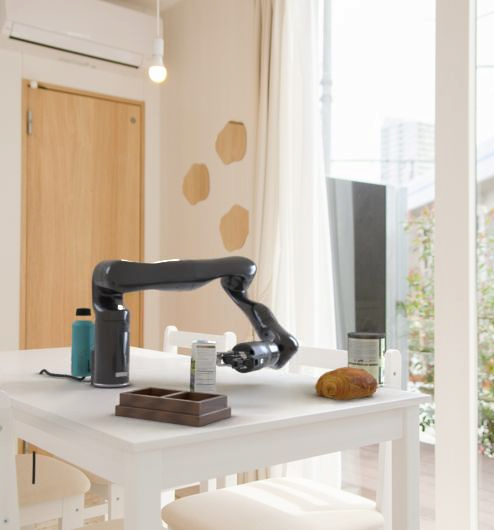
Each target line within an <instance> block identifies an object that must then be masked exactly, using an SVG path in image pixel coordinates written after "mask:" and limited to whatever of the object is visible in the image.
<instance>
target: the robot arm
mask: <svg viewBox="0 0 494 530" xmlns="http://www.w3.org/2000/svg"><path fill="white" fill-rule="evenodd" d="M257 271H258V266H257V264H256V262H255V261H254V260H252V259H251V258H249V257H246V256H243V255H242V256H241V255H230V256H223V257H214V258H172V259H163V260H159V261H153V262H145V261H144V262H143V261H134V260H126V259H103V260H101V261H99V262H98V263H96V265H95V266H94V268H93V270H92V273H91V306H92V310H93V313H94V324H95V341H94V348H93V349H92V350H91V364H90V369H88V372H90V373H91V376H90V386H94V387H98V388H123V387H128V386H130V384H131V382H130V370H131V369H130V368H131V367H130V361H131V310H130V308H128V306H127V305H126V303H125V300H124V295H125V294H131V293H136V292H142V291H154V290H155V291H161V292H170V293H172V292H173V293H176V292H177V293H179V292H192V291H196V290H198V289H201V288H203V287H204V286H207V285H208V284H210V283H212V282H213V281H216V280H218V279H219V283H220V286H221V288H222V289H223V291H224V292H225V294H226V295H227V296H228V297H229V298H230V300H231V301H232V302H233V303H234V305H236V307H237V308H238V309H239V310H240V311H241V312H242V313H243V315H244V316H245V317H246V318H247V320H248V322H249V324H250V325H251V327H252V329H253V331H254V332H255V334H256V335H257V338H258V339H259V340H251V341H245V342H239V343H237V344H234V346H233V347H232V348H231V350H227V351H217V352H216V367H219V368H221V367H223V368H224V367H227V368H231V369H232V370H235V371H236V372H238V373H240V374H248V373H252V372H256V371H260V370H262V369H266V368H267V369H268V368H269V369H271V370H275V371H278V370H281V369H282V368H284V367H285V366H286V365H287V364H288V363H289V362H290V361H291V359H292V358H293V357H294V356H295V355H296V354H297V353H298V352H299V348H300V347H299V341H298V340H297V338H296V337H295V336H294V335H292V334H291V333H290V332H289V331H287V330H286V329H285V328H284V327H283V325H281V324H280V323H279V321H278V319H277V317H276V316H275V315H274V312H273V311H272V310H271V308H270V307H269V306H267V305H266V304H265V303H263V302H260V301H256V300H253V299H252V298H251V297H250V295H249V291H248V290H249V289H250V286H251V285H252V283H253V281H254V279H255V277H256V274H257ZM222 362H223V363H222ZM38 374H39V375H43V374H46V375H47V376H49V377H53V378H54V377H55V378H65V379H66V378H67V379H71V380H74V381H78V382H79V381H81V382H82V381H84V380H85V379H86V378H87V377H75V376H72V374H62V373H52V372H49V370H47V369H45V368H43V369H41V370H40V371H39V373H38ZM36 453H37V452H36V451H35V450H32V470H31V472H32V474H31V484H32V485H36V456H37V455H36Z"/></svg>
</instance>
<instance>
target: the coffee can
mask: <svg viewBox="0 0 494 530" xmlns="http://www.w3.org/2000/svg"><path fill="white" fill-rule="evenodd" d="M346 336H347V367H353V368H359V369H364V370H366V371H367V372H368V373H370V374H371V375H372V376H373V377H374V378H375V379H376V380H377V388H381V387H384V386H385V351H386V350H385V348H386V347H385V345H386V344H385V337H386V333H384V332H376V331H375V332H374V331H350V332H347V335H346Z"/></svg>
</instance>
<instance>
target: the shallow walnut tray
mask: <svg viewBox="0 0 494 530" xmlns="http://www.w3.org/2000/svg"><path fill="white" fill-rule="evenodd" d="M118 403H119V404H116V405H114V416H119V417H127V418H134V419H139V420H147V421H155V422H161V423H169V424H177V425H184V426H190V427H199V428H200V427H202V426H205V425H209V424H213V423H215V422H218V421H221V420H224V419H228V418H231V417H232V407H231V406H228V394H221V393H215V394H212V393H203V392H194V391H190V390H184V389H176V388H175V389H174V388H166V387H156V386H148V387H143V388H138V389H134V390H129V391H128V390H127V391H123V392H120V393H119V401H118Z"/></svg>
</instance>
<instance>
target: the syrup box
mask: <svg viewBox="0 0 494 530" xmlns="http://www.w3.org/2000/svg"><path fill="white" fill-rule="evenodd" d="M217 344H218V343H217V341H215V340H210V339H209V340H207V339H197V340H196V339H195V340H192V341H191V349H190V365H189V366H190V368H189V391H194V392H203V393H212V394H216V381H217V380H216V379H217V376H216V375H217V365H216V352H218V351H217V348H218V347H217V346H218V345H217Z"/></svg>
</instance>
